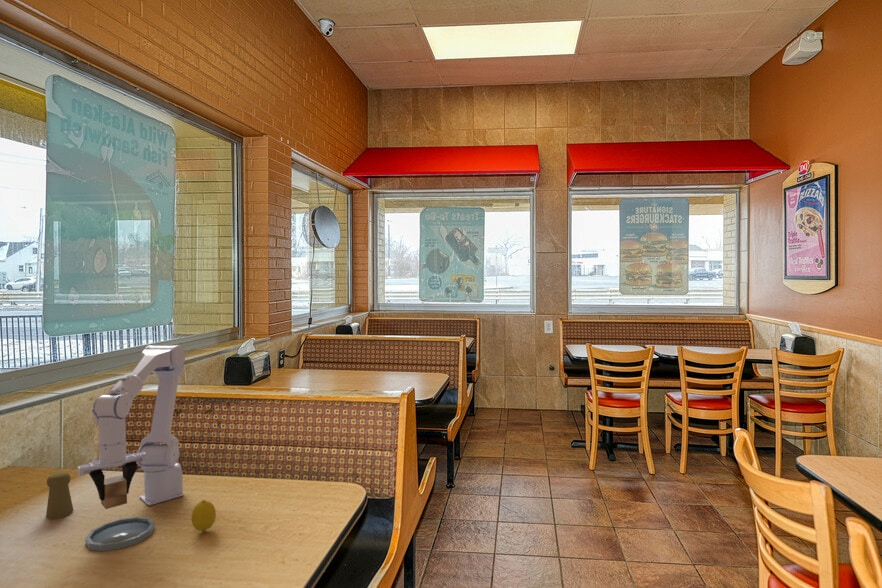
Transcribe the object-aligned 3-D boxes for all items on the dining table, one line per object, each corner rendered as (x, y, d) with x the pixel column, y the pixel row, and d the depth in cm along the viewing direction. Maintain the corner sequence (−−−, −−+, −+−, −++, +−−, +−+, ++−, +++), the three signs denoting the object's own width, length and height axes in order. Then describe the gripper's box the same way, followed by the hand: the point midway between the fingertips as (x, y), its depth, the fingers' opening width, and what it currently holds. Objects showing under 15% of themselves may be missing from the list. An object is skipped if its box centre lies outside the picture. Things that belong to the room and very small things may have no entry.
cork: (58, 519, 136) (57, 478, 136) (39, 517, 138) (38, 477, 137) (79, 509, 142) (77, 470, 142) (60, 507, 144) (59, 468, 143)
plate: (143, 517, 138) (143, 511, 138) (161, 535, 128) (161, 529, 128) (80, 536, 128) (80, 530, 127) (94, 557, 118) (94, 551, 118)
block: (121, 497, 133) (121, 475, 133) (127, 503, 130) (126, 479, 130) (101, 503, 130) (100, 480, 130) (105, 509, 127) (105, 485, 127)
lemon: (220, 528, 131) (220, 497, 131) (204, 538, 126) (203, 506, 126) (203, 525, 133) (203, 494, 133) (186, 535, 128) (185, 503, 127)
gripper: (81, 453, 121) (83, 510, 122) (149, 439, 132) (150, 491, 132) (75, 446, 126) (76, 501, 127) (141, 433, 137) (142, 484, 137)
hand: (114, 495), depth 130 cm, fingers closed on block, 5 cm apart
